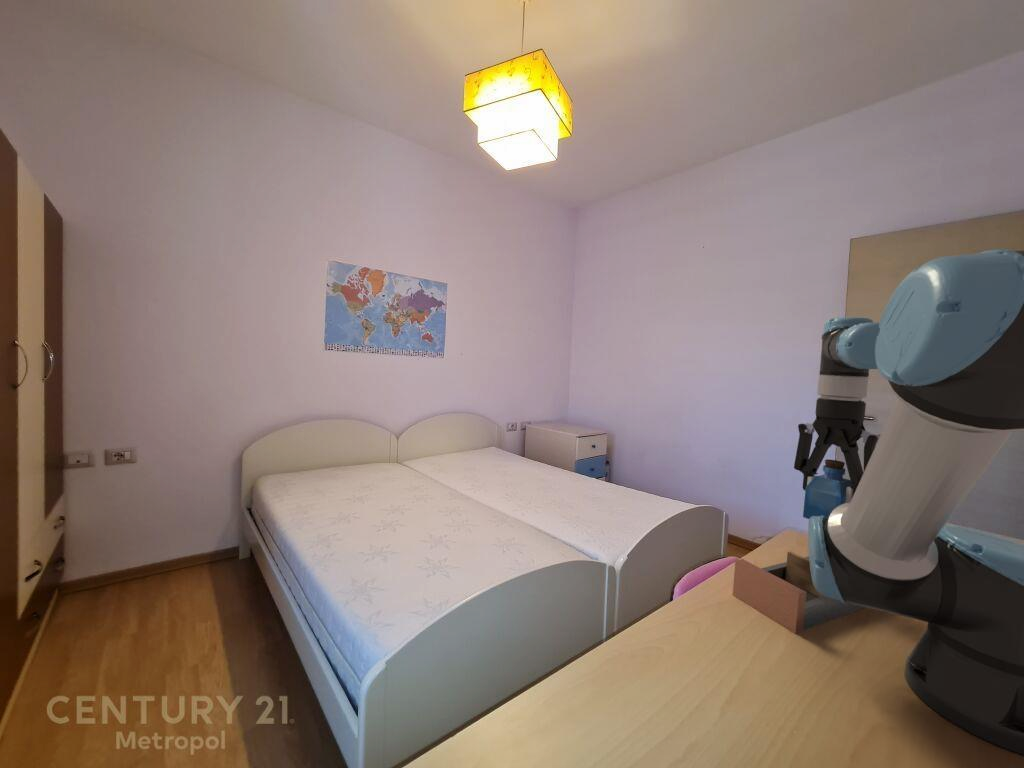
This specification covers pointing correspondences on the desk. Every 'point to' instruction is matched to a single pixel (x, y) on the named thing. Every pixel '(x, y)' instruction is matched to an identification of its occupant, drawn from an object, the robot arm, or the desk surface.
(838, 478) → the perfume bottle
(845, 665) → the desk surface
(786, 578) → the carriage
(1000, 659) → the robot arm
